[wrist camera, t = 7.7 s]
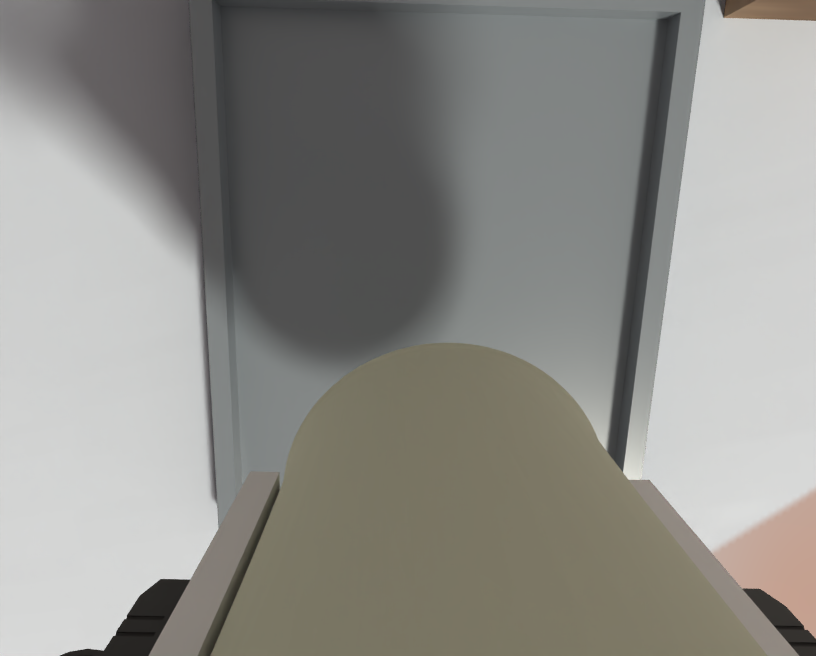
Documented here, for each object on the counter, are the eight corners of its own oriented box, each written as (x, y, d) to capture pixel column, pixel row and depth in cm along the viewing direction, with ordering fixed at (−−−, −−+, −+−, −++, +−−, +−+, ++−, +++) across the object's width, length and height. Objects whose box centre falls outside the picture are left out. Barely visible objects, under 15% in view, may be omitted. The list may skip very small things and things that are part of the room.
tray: (229, 518, 26) (219, 537, 25) (201, -15, 21) (186, -30, 20) (619, 526, 27) (632, 545, 25) (686, 1, 21) (707, -13, 20)
